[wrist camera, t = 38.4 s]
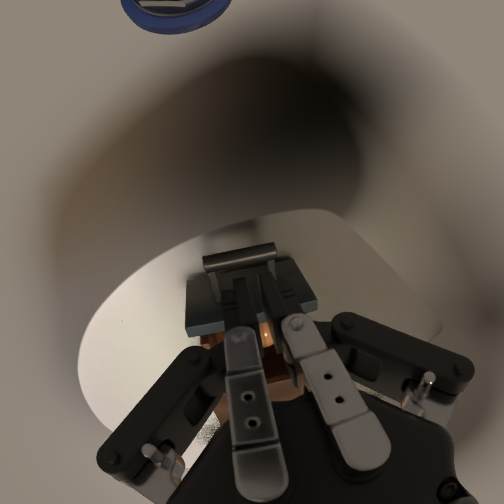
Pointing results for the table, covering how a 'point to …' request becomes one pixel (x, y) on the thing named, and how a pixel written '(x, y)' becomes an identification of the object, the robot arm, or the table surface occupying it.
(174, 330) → the table surface
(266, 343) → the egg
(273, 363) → the drawer
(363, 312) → the table surface
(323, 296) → the table surface
